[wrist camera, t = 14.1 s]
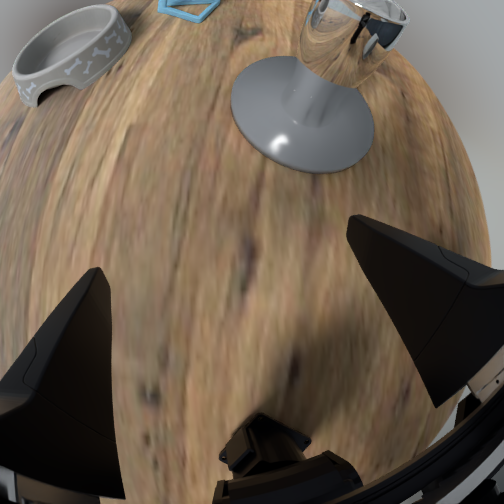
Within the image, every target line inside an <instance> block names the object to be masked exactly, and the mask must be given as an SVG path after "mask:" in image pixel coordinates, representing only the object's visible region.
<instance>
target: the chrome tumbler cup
mask: <svg viewBox="0 0 504 504" xmlns="http://www.w3.org/2000/svg"><path fill="white" fill-rule="evenodd" d="M409 22H410V18H409V16H408V14H407V13H406V12H405V10H403V8H402V7H401V6H400V5H399V4H397V3H396V2H395V1H394V0H312V2H311V4H310V6H309V8H308V11H307V13H306V15H305V18H304V21H303V24H302V27H301V32H300V37H299V42H298V49H297V57H296V65H295V70H294V73H293V76H292V78H291V80H290V82H289V83H288V84H287V86H286V87H285V88H284V90H283V91H282V93H281V96H280V104H281V107H282V109H283V111H284V113H285V114H286V115H287V116H288V117H289V118H290V119H291V120H293V121H294V122H296V123H297V124H299V125H302V126H304V127H308V128H314V129H319V128H324V127H327V126H328V125H330V124H331V123H332V122H333V121H334V119H335V117H336V114H337V112H338V109H339V106H340V104H341V102H342V101H343V100H344V98H345V97H346V96H347V95H348V94H349V93H350V92H351V91H352V90H354V89H355V88H356V87H357V86H358V85H360V84H361V83H362V82H363V81H364V80H365V79H367V78H368V77H369V76H370V75H371V74H372V73H373V72H374V71H375V70H376V69H377V68H378V67H379V66H380V65H381V64H382V63H383V61H384V60H385V59H386V58H387V56H388V55H389V53H390V52H391V51H392V49H393V48H394V46H395V45H396V43H397V41H398V40H399V38H400V36H401V34H402V33H403V31H404V29H405V28H406V26H407V25H408V23H409Z"/></svg>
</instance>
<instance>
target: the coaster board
mask: <svg viewBox="0 0 504 504" xmlns="http://www.w3.org/2000/svg"><path fill="white" fill-rule="evenodd" d="M295 65H296V57H293V56H276V57H270V58H266V59H262V60H259V61H257V62H255V63H253V64H251V65H249V66H248V67H246V68H245V69H244V70H243V71H242V72H241V73H240V74H239V75H238V77H237V79H236V80H235V82H234V85H233V88H232V94H231V111H232V116H233V119H234V121H235V124H236V125H237V127H238V129H239V131H240V132H241V134H242V135H243V136H244V137H245V139H246V140H247V141H248V142H249V143H250V144H251V145H252V146H253V147H254V148H255V149H257V150H258V151H259V152H260V153H262V154H263V155H265V156H266V157H268V158H269V159H271V160H273V161H275V162H276V163H278V164H280V165H283V166H285V167H288V168H290V169H293V170H297V171H301V172H306V173H312V174H330V173H336V172H340V171H343V170H345V169H348V168H350V167H351V166H353V165H355V164H356V163H357V162H358V161H359V160H360V159H361V158H363V157H364V156H365V154H366V153H367V152H368V151H369V149H370V147H371V145H372V142H373V138H374V122H373V117H372V114H371V111H370V109H369V107H368V105H367V103H366V101H365V100H364V98H363V96H362V95H361V94H360V92H359V91H358V90H357V89H356V88H355V89H354V90H352V91H351V92H350V93H349V94H348V95H347V96H346V97H345V98H344V100H343V101H342V102H341V104H340V106H339V109H338V112H337V114H336V117H335V119H334V121H333V122H332V123H331V124H330V125H328V126H327V127H324V128H319V129H314V128H308V127H304V126H302V125H299V124H297V123H296V122H294V121H293V120H291V119H290V118H289V117H288V116H287V115H286V114H285V113H284V111H283V109H282V107H281V104H280V96H281V93H282V91H283V90H284V88H285V87H286V86H287V84H288V83H289V82H290V80H291V78H292V76H293V73H294V70H295Z"/></svg>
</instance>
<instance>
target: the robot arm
mask: <svg viewBox="0 0 504 504" xmlns="http://www.w3.org/2000/svg"><path fill="white" fill-rule="evenodd" d="M346 237H347V241H348V243H349V245H350V247H351V249H352V251H353V252H354V254H355V256H356V258H357V260H358V263H359V265H360V267H361V268H362V270H363V272H364V274H365V276H366V277H367V279H368V281H369V282H370V284H371V286H372V287H373V289H374V291H375V292H376V294H377V296H378V297H379V299H380V301H381V302H382V304H383V306H384V308H385V309H386V311H387V313H388V315H389V316H390V318H391V320H392V322H393V324H394V325H395V327H396V329H397V331H398V333H399V335H400V336H401V338H402V340H403V342H404V344H405V346H406V348H407V350H408V352H409V354H410V356H411V358H412V360H413V361H414V364H415V366H416V368H417V370H418V372H419V374H420V376H421V378H422V380H423V382H424V385H425V387H426V389H427V391H428V393H429V396H430V398H431V400H432V402H433V404H434V406H435V408H438V407H439V406H440V405H442V404H443V403H444V402H446V401H447V400H448V399H450V398H451V397H452V396H453V395H455V394H456V393H457V392H458V391H460V390H461V389H462V388H463V387H465V386H466V385H467V386H468V388H469V389H470V391H471V393H470V394H469V395H467V396H466V397H465V398H464V399H463V400H462V401H460V402H459V403H458V408H457V414H456V420H455V425H454V429H453V430H451V431H450V432H449V433H447V434H446V435H445V436H444V437H442V438H441V439H440V440H438V441H437V442H436V443H434V444H433V445H432V446H430V447H429V448H427V449H426V450H425V451H423V452H422V453H420V454H419V455H417V456H416V457H414V458H413V459H411V460H409V461H408V462H406V463H405V464H403V465H401V466H400V467H398V468H396V469H395V470H393V471H391V472H390V473H388V474H386V475H384V476H382V477H380V478H379V479H377V480H375V481H373V482H371V483H369V484H367V485H365V486H363V483H362V481H361V479H360V477H359V475H358V473H357V471H356V470H355V469H354V467H353V466H352V465H351V464H350V463H349V462H348V461H346V460H344V459H343V458H341V457H339V456H338V455H336V454H334V453H333V452H331V451H329V450H327V451H325V452H322V454H320V455H317V456H315V457H312V458H309V459H306V457H305V456H304V454H303V453H302V452H303V451H304V450H305V449H306V448H307V447H308V446H309V445H310V444H311V439H310V437H308V436H306V435H304V434H302V433H300V432H298V431H296V430H294V429H292V428H290V427H288V426H286V425H284V424H282V423H280V422H278V421H277V420H275V419H273V418H271V417H269V416H267V415H266V414H264V413H257V414H256V415H255V416H254V417H253V418H252V420H251V421H250V422H249V423H248V424H247V425H246V426H245V427H242V428H241V429H240V430H239V431H238V432H237V433H236V434H235V435H234V436H233V437H232V438H231V439H230V440H229V442H228V443H227V444H226V448H225V449H224V450H223V451H222V452H221V453H220V454H219V460H220V461H222V462H224V463H226V464H228V468H229V470H230V471H232V473H233V479H232V480H227V481H225V480H221V481H218V482H217V486H216V488H215V492H214V497H213V501H212V504H400V503H401V502H403V501H405V500H406V499H408V498H409V497H411V496H413V495H414V494H416V493H417V492H418V491H420V490H422V492H423V495H422V499H420V500H418V501H416V502H414V503H412V504H504V492H502V493H501V492H500V490H499V488H498V485H497V483H496V481H495V480H492V479H491V478H492V477H493V476H494V475H495V474H496V473H497V472H498V471H499V470H500V468H501V467H502V466H503V465H504V270H497V269H493V268H490V267H488V266H485V265H483V264H481V263H478V262H476V261H473V260H471V259H468V258H466V257H464V256H461V255H459V254H456V253H454V252H452V251H450V250H447V249H445V248H443V247H440V246H437V245H436V244H434V243H431V242H429V241H427V240H424V239H422V238H419V237H417V236H415V235H412V234H410V233H407V232H405V231H402V230H400V229H397V228H395V227H392V226H390V225H387V224H385V223H382V222H379V221H377V220H374V219H372V218H369V217H366V216H363V215H361V214H358V215H352V216H350V217H349V220H348V227H347V233H346ZM111 350H112V317H111V290H110V286H109V283H108V281H107V279H106V277H105V275H104V273H103V271H102V269H101V268H100V267H95V268H91V269H89V270H88V271H87V272H86V273H85V274H84V275H83V276H82V277H81V278H80V280H79V281H78V282H77V283H76V284H75V285H74V286H73V288H72V289H71V290H70V291H69V292H68V293H67V295H66V296H65V297H64V298H63V299H62V301H61V302H60V303H59V304H58V305H57V307H56V308H55V309H54V310H53V312H52V313H51V314H50V315H49V317H48V318H47V319H46V320H45V322H44V323H43V324H42V326H41V327H40V328H39V330H38V331H37V332H36V334H35V335H34V337H33V338H32V339H31V340H30V342H29V343H28V345H27V346H26V347H25V349H24V350H23V351H22V353H21V354H20V355H19V357H18V358H17V359H16V361H15V362H14V363H13V365H12V366H11V367H10V369H9V370H8V371H7V373H6V374H5V375H4V377H3V378H2V379H1V381H0V504H100V498H99V497H101V498H110V499H121V500H125V499H126V498H125V492H124V488H123V483H122V477H121V472H120V466H119V459H118V452H117V445H116V438H115V428H114V417H113V402H112V376H111ZM259 417H263V419H261V420H259V419H258V418H259ZM306 440H308V441H307V442H305V441H306ZM223 456H226V458H222V457H223Z"/></svg>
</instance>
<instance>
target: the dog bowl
mask: <svg viewBox="0 0 504 504" xmlns="http://www.w3.org/2000/svg"><path fill="white" fill-rule="evenodd" d="M131 39H132V34H131V31H130V29H129V28H128V26H127V25H126V23H125V22H124V20H123V18H122V17H121V15H120V14H119V12H118V10H117V9H116V8H115V7H113V6H111V5H103V4H101V5H93V6H88V7H84V8H81V9H79V10H75V11H73V12H71V13H69V14H67V15H64V16H63V17H61V18H59V19H57V20H56V21H54V22H52V23H51V24H49V25H48V26H46V27H45V28H44V29H43V30H42V31H40V32H39V33H38V34H36V35H35V36H34V37H33V38H32V39H31V40H30V41H29V42H28V43H27V44H26V45H25V47H24V48H23V49H22V50H21V52H20V54H19V55H18V56H17V58H16V60H15V62H14V65H13V68H12V74H13V78H14V81H15V84H16V86H17V89H18V92H19V95H20V98H21V101H22V102H23V103H24V104H25V105H27V106H29V107H37V100H38V97H39V95H40V94H41V93H42V92H43V91H44V90H46V89H51V88H55V87H58V86H60V85H63V84H65V85H72V86H74V87H76V88H78V89H80V90H83V89H85V88H86V87H87V86H89V85H91V84H92V83H93V82H95V81H96V80H97V79H99V78H100V77H101V76H102V75H104V74H105V73H106V72H107V71H108V70H109V69H111V68H112V67H113V66H114V65H115V64H116V63H117V62H118V61H119V60H120V58H121V57H122V56H123V55H124V54H125V52H126V51H127V49H128V47H129V45H130V43H131Z"/></svg>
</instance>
